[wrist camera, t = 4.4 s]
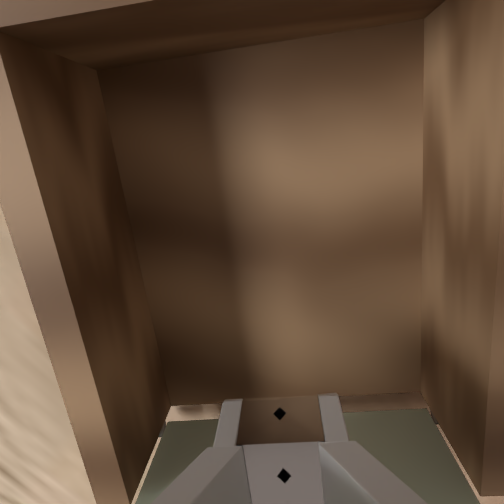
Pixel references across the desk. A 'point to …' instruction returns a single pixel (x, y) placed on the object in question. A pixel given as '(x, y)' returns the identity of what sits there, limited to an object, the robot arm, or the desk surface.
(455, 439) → the crate
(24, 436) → the desk surface
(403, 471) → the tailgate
